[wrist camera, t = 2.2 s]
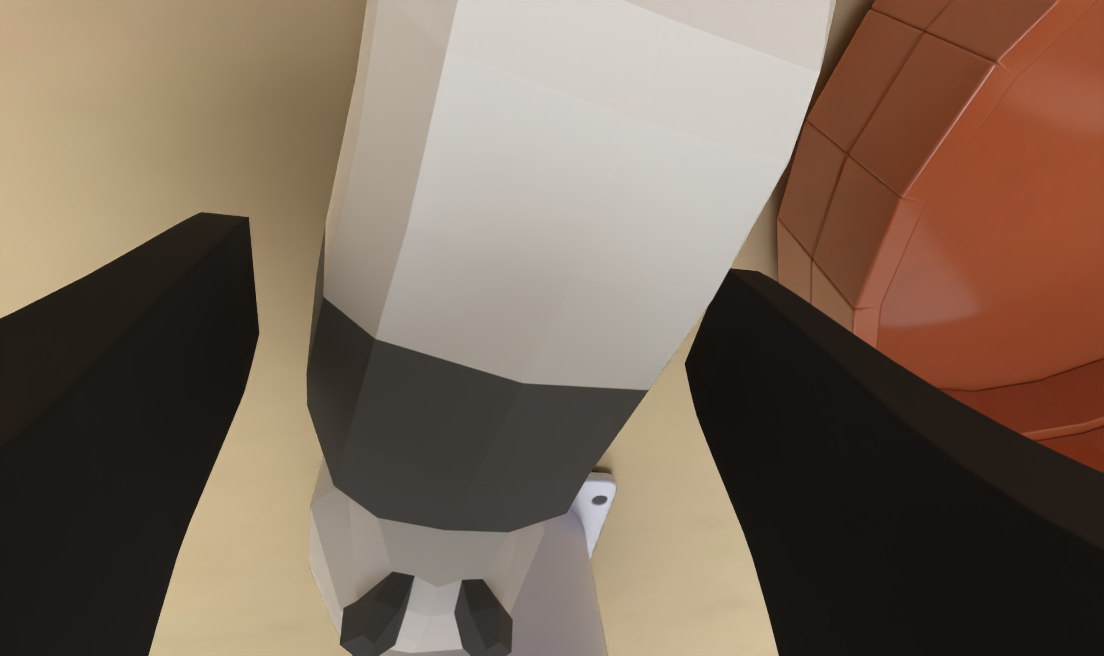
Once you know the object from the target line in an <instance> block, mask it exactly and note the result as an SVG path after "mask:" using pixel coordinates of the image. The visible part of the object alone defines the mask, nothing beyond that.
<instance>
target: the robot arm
mask: <svg viewBox="0 0 1104 656" xmlns="http://www.w3.org/2000/svg"><path fill="white" fill-rule="evenodd" d="M258 337H259V325H258V314H257V303H256V292H255V281H254V270H253V259H252V248H251V237H250V226H249V217H242V216H232V215H223V214H214V213H204V212H201V213H198V214H196V215H194V216H192V217H190V218H188V219H186V220H184V221H182V222H181V223H179V224H177V225H175V226H173V227H172V228H170V229H168V230H166V231H165V232H163V233H161V234H159V235H158V236H156V237H154V238H152V239H151V240H149V241H147V242H145V243H144V244H142V245H140V246H139V247H137V248H135V249H133V250H131V251H130V252H128V253H126V254H124V255H123V256H121V257H119V258H117V259H115V260H114V261H112V262H110V263H108V264H106V265H105V266H103V267H101V268H99V269H98V270H96V271H94V272H92V273H90V274H89V275H87V276H85V277H83V278H81V279H79V280H77V281H75V282H73V283H71V284H69V285H67V286H65V287H63V288H61V289H59V290H57V291H55V292H53V293H51V294H49V295H47V296H45V297H43V298H41V299H39V300H37V301H35V302H33V303H31V304H29V305H27V306H25V307H23V308H21V309H19V310H17V311H15V312H13V313H11V314H9V315H7V316H5V317H3V318H0V656H148V655H149V652H150V648H151V644H152V641H153V637H154V634H155V630H156V626H157V623H158V620H159V616H160V613H161V609H162V606H163V603H164V599H165V596H166V593H167V589H168V586H169V582H170V579H171V576H172V572H173V569H174V566H175V562H176V559H177V556H178V553H179V550H180V547H181V545H182V542H183V539H184V536H185V534H186V531H187V528H188V526H189V523H190V521H191V518H192V516H193V513H194V511H195V509H196V506H197V504H198V502H199V499H200V497H201V495H202V492H203V490H204V487H205V485H206V483H207V480H208V478H209V476H210V473H211V471H212V468H213V466H214V464H215V461H216V459H217V457H218V454H219V452H220V450H221V447H222V445H223V442H224V440H225V438H226V435H227V433H228V430H229V428H230V426H231V423H232V421H233V418H234V416H235V414H236V411H237V409H238V406H239V404H240V401H241V399H242V396H243V394H244V391H245V388H246V384H247V380H248V377H249V373H250V369H251V365H252V361H253V357H254V353H255V349H256V345H257V341H258ZM685 368H686V372H687V377H688V382H689V386H690V391H691V395H692V399H693V403H694V407H695V411H696V415H697V417H698V420H699V423H700V425H701V428H702V431H703V433H704V436H705V438H706V441H707V443H708V446H709V448H710V451H711V454H712V456H713V459H714V461H715V463H716V466H717V468H718V471H719V473H720V476H721V478H722V481H723V483H724V486H725V488H726V490H727V493H728V495H729V498H730V500H731V503H732V505H733V508H734V510H735V513H736V515H737V518H738V520H739V522H740V525H741V527H742V530H743V532H744V535H745V538H746V541H747V544H748V547H749V549H750V552H751V555H752V558H753V561H754V565H755V568H756V572H757V575H758V579H759V582H760V586H761V589H762V593H763V597H764V600H765V604H766V607H767V611H768V614H769V618H770V622H771V626H772V630H773V634H774V638H775V642H776V646H777V650H778V654H779V656H1104V473H1103V472H1100V471H1098V470H1096V469H1093V468H1091V467H1089V466H1087V465H1085V464H1082V463H1080V462H1078V461H1076V460H1074V459H1072V458H1070V457H1068V456H1065V455H1063V454H1061V453H1059V452H1057V451H1055V450H1053V449H1051V448H1048V447H1046V446H1044V445H1042V444H1040V443H1038V442H1036V441H1034V440H1032V439H1030V438H1028V437H1026V436H1024V435H1022V434H1020V433H1018V432H1016V431H1014V430H1012V429H1010V428H1008V427H1006V426H1004V425H1002V424H1000V423H998V422H997V421H995V420H993V419H991V418H989V417H988V416H986V415H984V414H982V413H980V412H978V411H977V410H975V409H973V408H971V407H969V406H967V405H966V404H964V403H962V402H960V401H958V400H956V399H955V398H953V397H951V396H950V395H948V394H946V393H945V392H943V391H941V390H939V389H938V388H936V387H934V386H933V385H931V384H930V383H928V382H926V381H925V380H923V379H922V378H920V377H919V376H917V375H915V374H914V373H912V372H911V371H909V370H907V369H906V368H904V367H903V366H901V365H900V364H898V363H896V362H895V361H893V360H892V359H890V358H889V357H887V356H886V355H884V354H883V353H881V352H880V351H878V350H877V349H875V348H874V347H872V346H871V345H869V344H868V343H866V342H865V341H863V340H862V339H860V338H859V337H858V336H856V335H855V334H853V333H852V332H850V331H849V330H847V329H846V328H845V327H843V326H842V325H840V324H839V323H837V322H836V321H834V320H833V319H832V318H830V317H829V316H827V315H826V314H824V313H823V312H822V311H820V310H819V309H817V308H816V307H814V306H813V305H811V304H810V303H809V302H807V301H806V300H804V299H803V298H801V297H800V296H798V295H797V294H795V293H794V292H792V291H791V290H789V289H788V288H786V287H785V286H783V285H781V284H780V283H778V282H777V281H775V280H773V279H771V278H770V277H768V276H766V275H764V274H762V273H760V272H758V271H750V270H740V269H731V268H730V269H729V271H728V273H727V274H726V276H725V278H724V280H723V282H722V283H721V285H720V287H719V289H718V291H717V292H716V294H715V296H714V298H713V300H712V301H711V302H710V304H709V305H708V308H707V310H706V313H705V315H704V317H703V320H702V322H701V325H700V327H699V330H698V332H697V335H696V337H695V340H694V342H693V344H692V347H691V349H690V352H689V354H688V357H687V359H686V362H685ZM616 491H617V484H616V480H615V478H614V476H612V475H611V474H608V473H596V472H590V474H589V475H588V477H587V479H586V481H585V482H584V484H583V486H582V488H581V489H580V491H579V493H578V494H577V496H576V498H575V500H574V501H573V503H572V505H571V507H570V508H569V510H568V512H567V514H564V515H561V516H558V517H555V518H552V519H549V520H545V521H544V528H545V533H544V535H543V537H542V540H541V542H540V544H539V547H538V549H537V551H536V554H535V556H534V559H533V561H532V563H531V566H530V568H529V570H528V573H527V575H526V577H525V580H524V582H523V584H522V587H521V589H520V591H519V594H518V596H517V598H516V601H515V603H514V605H513V608H512V610H511V612H510V616H511V618H512V619H513V628H512V652H511V653H510V654H509V655H507V656H608V652H607V647H606V641H605V636H604V631H603V626H602V620H601V615H600V610H599V605H598V600H597V594H596V589H595V584H594V579H593V573H592V568H591V563H590V559H591V556H592V554H593V551H594V548H595V546H596V543H597V541H598V538H599V535H600V533H601V530H602V527H603V525H604V522H605V520H606V517H607V514H608V512H609V509H610V507H611V504H612V501H613V499H614V496H615V493H616ZM380 656H470V655H469V654H468V653H467V652H466V651H465V650H464V649H457V650H443V651H430V652H417V653H408V652H402V651H396V650H391V649H389V650H387V651H386V652H384V653H383V654H381V655H380Z"/></svg>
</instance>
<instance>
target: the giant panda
mask: <svg viewBox="0 0 1104 656" xmlns="http://www.w3.org/2000/svg"><path fill="white" fill-rule="evenodd" d="M835 4H836V0H367V4H366V11H365V18H364V25H363V32H362V39H361V46H360V53H359V60H358V67H357V74H356V79H355V84H354V88H353V93H352V98H351V103H350V108H349V113H348V117H347V122H346V127H345V132H344V137H343V142H342V147H341V151H340V156H339V161H338V166H337V171H336V176H335V180H334V185H333V190H332V195H331V200H330V205H329V210H328V214H327V219H326V224H325V230H324V236H323V241H322V247H321V253H320V258H319V264H318V270H317V276H316V286H315V296H314V306H313V315H312V325H311V335H310V345H309V355H308V365H307V406H308V409H309V412H310V415H311V418H312V421H313V424H314V427H315V430H316V433H317V436H318V439H319V442H320V445H321V448H322V452H323V455H324V456H323V460H322V464H321V467H320V471H319V475H318V479H317V482H316V486H315V490H314V494H313V497H312V501H311V505H310V570H311V572H312V575H313V577H314V579H315V582H316V584H317V586H318V589H319V591H320V593H321V596H322V598H323V600H324V603H325V605H326V607H327V610H328V612H329V614H330V617H331V619H332V621H333V624H334V626H335V628H336V631H337V633H338V635H339V637H340V645H341V646H342V647H343V648H345V649H346V650H347V651H348V652H350V653H351V654H352V655H353V656H380V655H381V654H383V653H384V652H386V651H387V650H389V649H391V650H396V651H402V652H408V653H417V652H430V651H443V650H457V649H464V650H465V651H466V652H467V653H468V654H469V655H470V656H507V655H509V654H510V653H511V652H512V628H513V619H512V618H511V616H510V612H511V610H512V608H513V605H514V603H515V601H516V598H517V596H518V594H519V591H520V589H521V587H522V584H523V582H524V580H525V577H526V575H527V573H528V570H529V568H530V566H531V563H532V561H533V559H534V556H535V554H536V551H537V549H538V547H539V544H540V542H541V540H542V537H543V535H544V533H545V528H544V521H545V520H549V519H552V518H555V517H558V516H561V515H564V514H567V512H568V510H569V508H570V507H571V505H572V503H573V501H574V500H575V498H576V496H577V494H578V493H579V491H580V489H581V488H582V486H583V484H584V482H585V481H586V479H587V477H588V475H589V474H590V472H591V471H592V470H593V468H594V467H595V465H596V464H597V463H598V461H599V460H600V458H601V457H602V456H603V454H604V453H605V451H606V450H607V448H608V447H609V446H610V444H611V443H612V441H613V440H614V439H615V437H616V436H617V434H618V433H619V432H620V430H621V429H622V427H623V426H624V424H625V423H626V422H627V420H628V419H629V417H630V416H631V415H632V413H633V412H634V410H635V409H636V408H637V406H638V405H639V403H640V402H641V400H642V399H643V398H644V396H645V395H646V393H647V392H648V391H649V389H650V388H651V386H652V385H653V383H654V382H655V381H656V379H657V378H658V376H659V375H660V374H661V372H662V371H663V369H664V368H665V366H666V365H667V364H668V362H669V361H670V359H671V358H672V356H673V355H674V354H675V352H676V351H677V349H678V348H679V347H680V345H681V344H682V342H683V341H684V339H685V338H686V337H687V335H688V334H689V332H690V331H691V329H692V328H693V327H694V325H695V324H696V322H697V321H698V320H699V318H700V317H701V315H702V314H703V312H704V311H705V310H706V308H707V307H708V305H709V304H710V302H711V301H712V300H713V298H714V296H715V294H716V292H717V291H718V289H719V287H720V285H721V283H722V282H723V280H724V278H725V276H726V274H727V273H728V271H729V269H730V267H731V265H732V264H733V262H734V260H735V258H736V256H737V255H738V253H739V251H740V249H741V247H742V246H743V244H744V242H745V240H746V238H747V237H748V235H749V233H750V231H751V229H752V228H753V226H754V224H755V222H756V220H757V219H758V217H759V215H760V213H761V211H762V209H763V208H764V206H765V204H766V202H767V200H768V199H769V197H770V195H771V193H772V191H773V190H774V188H775V186H776V184H777V182H778V181H779V179H780V177H781V175H782V173H783V172H784V170H785V168H786V166H787V164H788V163H789V160H790V157H791V154H792V151H793V149H794V146H795V143H796V140H797V137H798V134H799V131H800V128H801V126H802V123H803V120H804V117H805V114H806V111H807V108H808V106H809V103H810V100H811V97H812V94H813V91H814V88H815V85H816V83H817V80H818V77H819V74H820V70H821V67H822V63H823V58H824V54H825V49H826V45H827V40H828V36H829V31H830V27H831V22H832V18H833V13H834V9H835Z"/></svg>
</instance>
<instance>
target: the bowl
mask: <svg viewBox="0 0 1104 656" xmlns="http://www.w3.org/2000/svg"><path fill="white" fill-rule="evenodd" d="M871 7H872V9H870V10H869V11H868V12H867V13H866V15H865V17H864V18H863V20H862V22H861V24H860V25H859V27H858V29H857V31H856V33H855V34H854V36H853V38H852V40H851V41H850V43H849V45H848V47H847V48H846V50H845V52H844V54H843V55H842V57H841V59H840V61H839V62H838V64H837V66H836V68H835V69H834V71H833V73H832V75H831V76H830V78H829V80H828V82H827V84H826V85H825V87H824V89H823V91H822V92H821V94H820V96H819V98H818V99H817V101H816V103H815V105H814V106H813V108H812V110H811V112H810V113H809V115H808V117H807V122H805V124H804V127H803V131H802V134H801V138H800V141H799V145H798V148H797V152H796V155H795V159H794V162H793V166H792V169H791V172H790V176H789V179H788V183H787V186H786V190H785V193H784V197H783V200H782V204H781V207H780V211H779V214H778V217H779V218H777V240H778V283H780V284H781V285H783V286H785V287H786V288H788V289H789V290H791V291H792V292H794V293H795V294H797V295H798V296H800V297H801V298H803V299H804V300H806V301H807V302H809V303H810V304H811V305H813V306H814V307H816V308H817V309H819V310H820V311H822V312H823V313H824V314H826V315H827V316H829V317H830V318H832V319H833V320H834V321H836V322H837V323H839V324H840V325H842V326H843V327H845V328H846V329H847V330H849V331H850V332H852V333H853V334H855V335H856V336H858V337H859V338H860V339H862V340H863V341H865V342H866V343H868V344H869V345H871V346H872V347H874V348H875V349H877V350H878V351H880V352H881V353H883V354H884V355H886V356H887V357H889V358H890V359H892V360H893V361H895V362H896V363H898V364H900V365H901V366H903V367H904V368H906V369H907V370H909V371H911V372H912V373H914V374H915V375H917V376H919V377H920V378H922V379H923V380H925V381H926V382H928V383H930V384H931V385H933V386H934V387H936V388H938V389H939V390H941V391H943V392H945V393H946V394H948V395H950V396H951V397H953V398H955V399H956V400H958V401H960V402H962V403H964V404H966V405H967V406H969V407H971V408H973V409H975V410H977V411H978V412H980V413H982V414H984V415H986V416H988V417H989V418H991V419H993V420H995V421H997V422H998V423H1000V424H1002V425H1004V426H1006V427H1008V428H1010V429H1012V430H1014V431H1016V432H1018V433H1020V434H1022V435H1024V436H1026V437H1028V438H1030V439H1032V440H1034V441H1036V442H1038V443H1040V444H1042V445H1044V446H1046V447H1048V448H1051V449H1053V450H1055V451H1057V452H1059V453H1061V454H1063V455H1065V456H1068V457H1070V458H1072V459H1074V460H1076V461H1078V462H1080V463H1082V464H1085V465H1087V466H1089V467H1091V468H1093V469H1096V470H1098V471H1100V472H1103V473H1104V0H876V1H875V2H874V3H873V4H872V6H871Z"/></svg>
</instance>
